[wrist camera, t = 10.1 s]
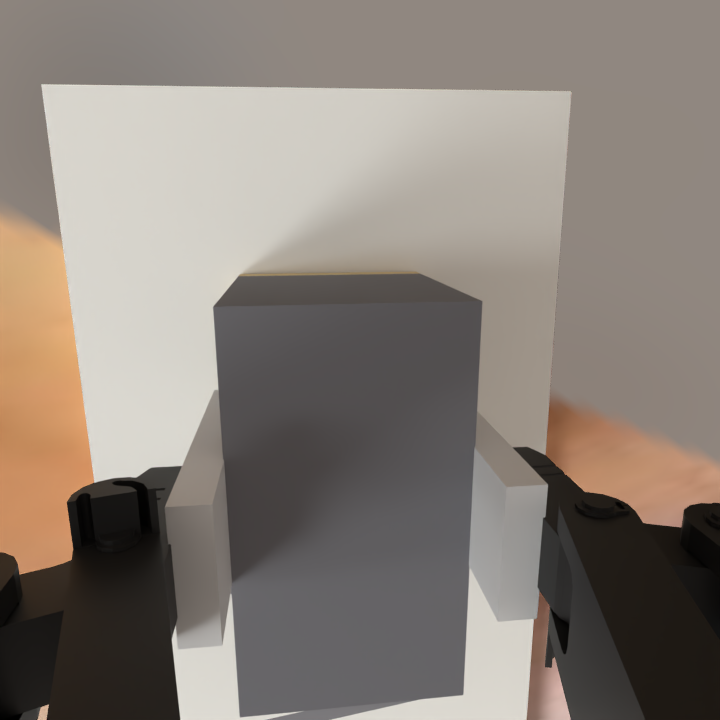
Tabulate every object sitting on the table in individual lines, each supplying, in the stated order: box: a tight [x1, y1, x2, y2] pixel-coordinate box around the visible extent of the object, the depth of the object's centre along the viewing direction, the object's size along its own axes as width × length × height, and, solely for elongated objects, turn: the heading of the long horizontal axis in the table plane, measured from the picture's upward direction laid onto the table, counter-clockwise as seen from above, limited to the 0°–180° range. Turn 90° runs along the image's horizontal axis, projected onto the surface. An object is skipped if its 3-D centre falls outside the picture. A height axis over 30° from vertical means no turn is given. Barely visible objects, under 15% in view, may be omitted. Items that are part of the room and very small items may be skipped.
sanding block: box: [213, 272, 482, 717], centre depth 15 cm, size 5×9×6 cm, turn 0°
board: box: [41, 84, 572, 720], centre depth 20 cm, size 14×32×1 cm, turn 1°
